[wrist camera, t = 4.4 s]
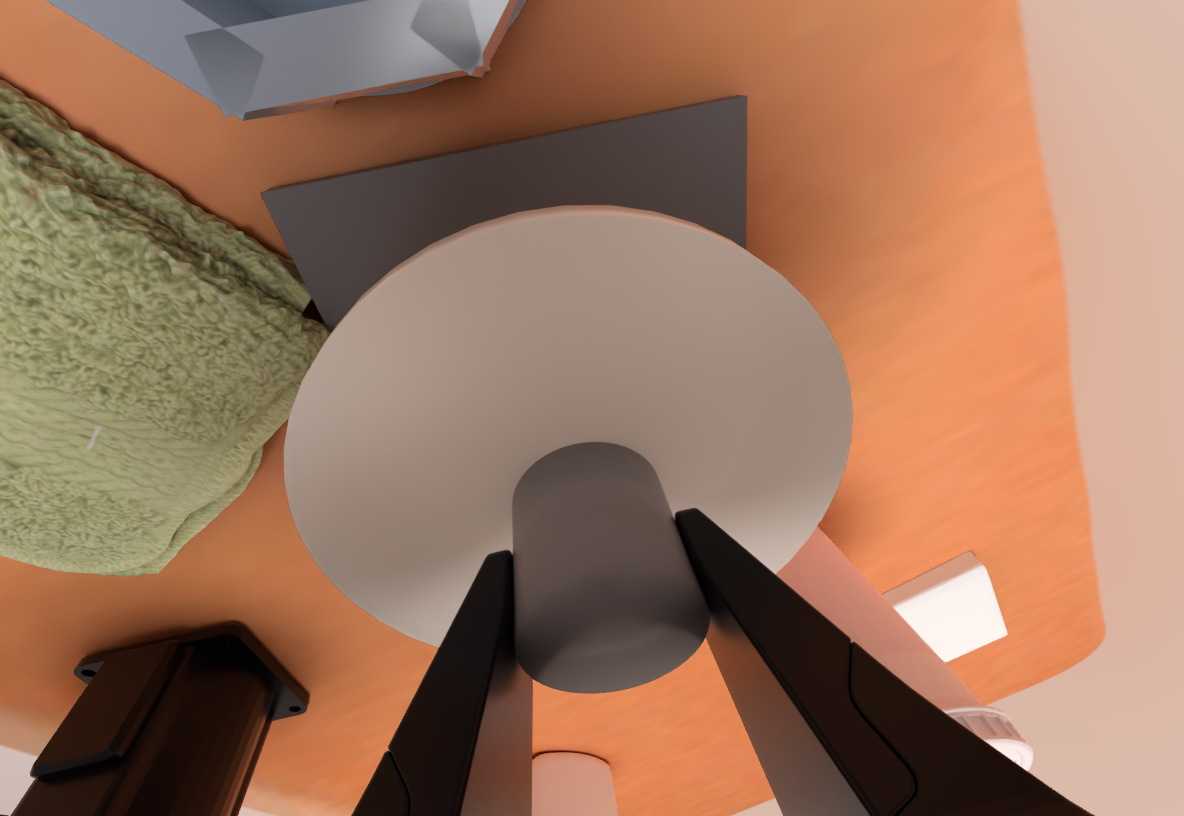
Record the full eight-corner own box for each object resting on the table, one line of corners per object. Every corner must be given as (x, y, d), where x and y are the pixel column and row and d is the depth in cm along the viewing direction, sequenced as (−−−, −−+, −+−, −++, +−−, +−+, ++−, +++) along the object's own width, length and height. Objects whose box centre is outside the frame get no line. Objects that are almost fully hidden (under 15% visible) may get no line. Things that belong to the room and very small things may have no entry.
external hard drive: (986, 612, 30) (798, 701, 33) (961, 541, 26) (746, 649, 28) (1009, 637, 29) (810, 728, 31) (987, 567, 25) (758, 678, 27)
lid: (811, 579, 14) (901, 724, 11) (420, 671, 14) (396, 848, 11) (862, 138, 8) (1096, 176, 5) (162, 288, 8) (-76, 432, 5)
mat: (738, 455, 20) (744, 464, 19) (431, 523, 19) (429, 534, 19) (737, 95, 13) (747, 95, 12) (269, 188, 13) (260, 193, 12)
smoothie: (770, 608, 26) (993, 1051, 14) (683, 564, 23) (872, 1073, 11) (875, 529, 23) (1245, 976, 12) (793, 470, 21) (1173, 980, 9)
